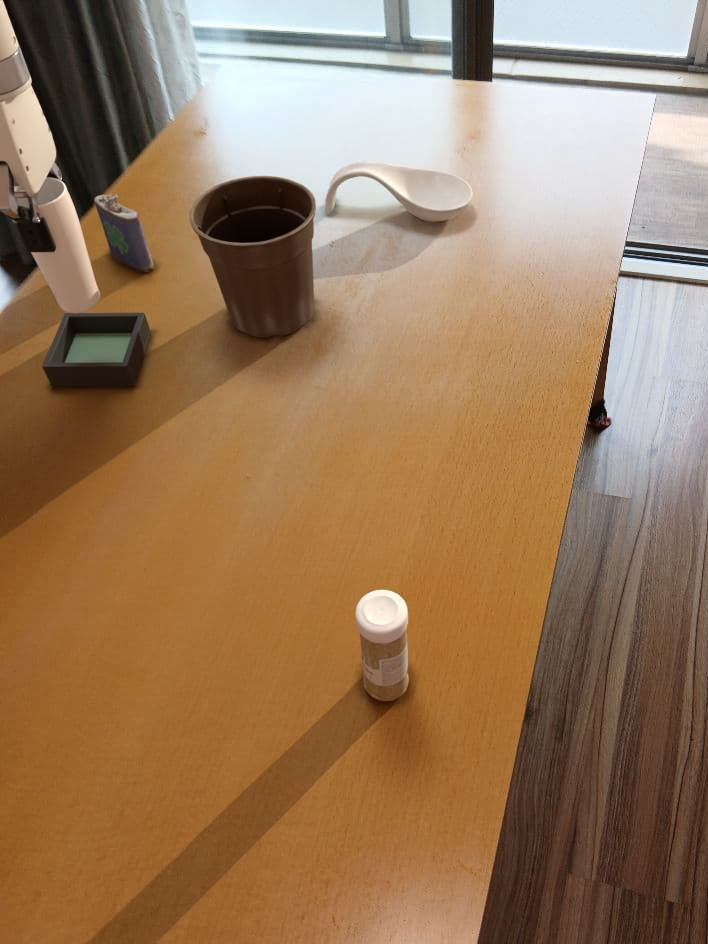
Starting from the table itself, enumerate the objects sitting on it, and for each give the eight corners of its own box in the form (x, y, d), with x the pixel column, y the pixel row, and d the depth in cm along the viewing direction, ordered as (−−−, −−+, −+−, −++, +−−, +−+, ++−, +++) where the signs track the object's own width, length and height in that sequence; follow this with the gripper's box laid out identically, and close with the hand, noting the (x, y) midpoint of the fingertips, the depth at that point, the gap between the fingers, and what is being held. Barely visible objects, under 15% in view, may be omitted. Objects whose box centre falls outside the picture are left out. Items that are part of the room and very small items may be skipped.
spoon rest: (473, 194, 135) (475, 151, 129) (470, 234, 128) (472, 190, 122) (332, 189, 137) (328, 147, 131) (321, 228, 130) (316, 186, 124)
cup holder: (51, 387, 108) (41, 366, 105) (73, 333, 115) (64, 313, 112) (134, 386, 108) (127, 366, 105) (151, 332, 115) (144, 312, 112)
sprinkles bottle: (357, 671, 82) (347, 597, 71) (399, 655, 83) (395, 580, 72) (373, 710, 79) (366, 639, 68) (416, 693, 80) (416, 621, 69)
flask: (158, 267, 124) (138, 201, 115) (142, 276, 123) (121, 210, 114) (120, 245, 128) (98, 180, 119) (105, 254, 126) (81, 188, 118)
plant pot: (192, 330, 115) (162, 225, 102) (252, 268, 123) (233, 164, 111) (291, 361, 110) (274, 256, 97) (347, 294, 119) (338, 190, 106)
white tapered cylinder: (103, 317, 102) (61, 206, 90) (48, 321, 102) (-1, 209, 90) (111, 285, 106) (71, 174, 94) (58, 288, 106) (12, 177, 94)
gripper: (-21, 35, 87) (41, 193, 101) (-82, 113, 77) (-3, 276, 91) (48, 34, 87) (101, 192, 101) (-3, 112, 77) (64, 276, 91)
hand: (51, 231), depth 96 cm, fingers closed on white tapered cylinder, 6 cm apart
